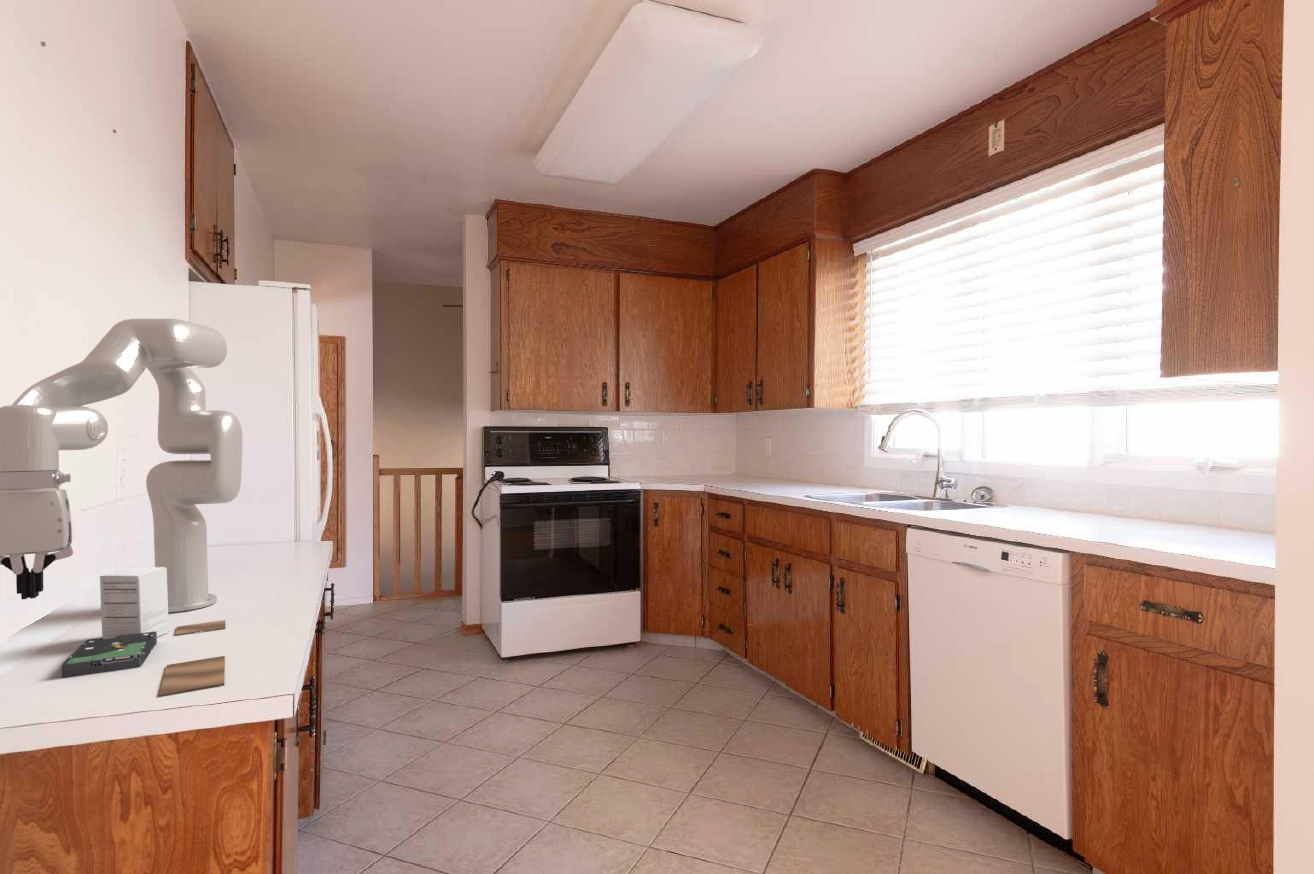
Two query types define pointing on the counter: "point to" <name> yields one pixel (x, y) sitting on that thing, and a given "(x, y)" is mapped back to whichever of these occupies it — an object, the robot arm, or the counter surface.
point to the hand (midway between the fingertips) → (30, 597)
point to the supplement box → (134, 602)
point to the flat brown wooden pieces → (194, 667)
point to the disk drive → (109, 654)
